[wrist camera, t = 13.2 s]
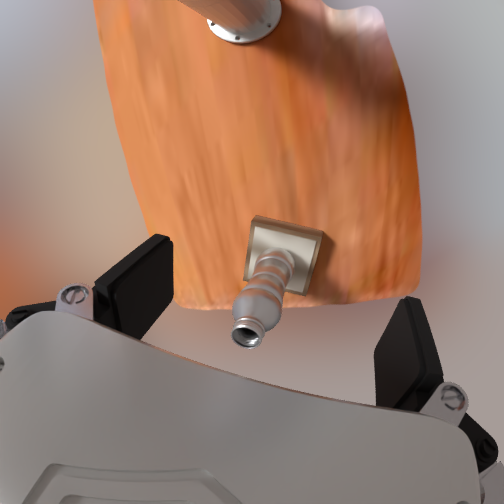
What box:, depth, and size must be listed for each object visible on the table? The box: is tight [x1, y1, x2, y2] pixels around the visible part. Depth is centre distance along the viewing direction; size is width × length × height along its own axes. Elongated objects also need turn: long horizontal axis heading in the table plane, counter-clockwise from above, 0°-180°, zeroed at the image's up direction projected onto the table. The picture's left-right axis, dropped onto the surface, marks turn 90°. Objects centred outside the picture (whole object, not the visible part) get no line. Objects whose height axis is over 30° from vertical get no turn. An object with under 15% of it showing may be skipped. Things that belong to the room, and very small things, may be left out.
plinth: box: [243, 215, 323, 296], centre depth 52 cm, size 12×12×3 cm
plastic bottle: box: [231, 247, 295, 349], centre depth 42 cm, size 6×7×20 cm
